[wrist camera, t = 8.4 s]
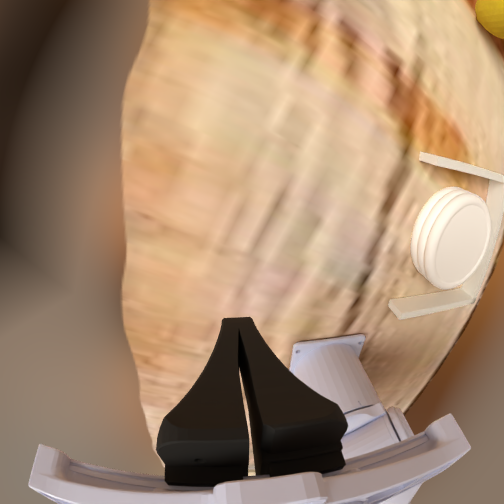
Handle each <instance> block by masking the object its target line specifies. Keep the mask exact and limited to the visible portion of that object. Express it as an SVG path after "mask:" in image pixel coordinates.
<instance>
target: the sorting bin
mask: <svg viewBox="0 0 504 504" xmlns="http://www.w3.org/2000/svg"><path fill="white" fill-rule="evenodd" d="M419 161H423V162H426V163H430V164H433V165H436V166H440V167H445V168H449V169H454V170H458V171H462V172H466V173H470V174H474V175H478V176H481V177H485V178H488V179H490V181H489V187H488V193H487V198H486V204H487V206H488V209H489V212H490V216H491V237H490V242H489V246H488V249H487V251H486V254H485V256H484V258H483V260H482V262H481V264H480V265H479V267H478V268H477V270H476V271H475V272H474V274H473V275H472V276H471V277H470V278H469V279H468V280H467V281H465V282H464V283H463V285H462V287H461V288H458V289H452V290H447V291H441V292H435V293H429V294H423V295H416V296H410V297H403V298H396V299H390V300H389V304H388V306H389V308H390V309H391V310H392V311H393V313H394V314H395V315H396V316H397V318H398V319H399V320H402V319H407V318H412V317H417V316H422V315H427V314H432V313H436V312H440V311H445V310H449V309H453V308H457V307H461V306H465V305H469V304H473V303H474V302H475V300H476V298H477V295H478V293H479V290H480V288H481V285H482V282H483V280H484V277H485V274H486V271H487V269H488V266H489V263H490V260H491V257H492V253H493V250H494V247H495V243H496V240H497V236H498V233H499V229H500V225H501V221H502V216H503V212H504V175H502V174H499V173H496V172H493V171H490V170H487V169H484V168H481V167H478V166H474V165H471V164H468V163H464V162H461V161H457V160H453V159H449V158H445V157H441V156H437V155H433V154H429V153H424V152H420V157H419Z"/></svg>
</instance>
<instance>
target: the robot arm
mask: <svg viewBox="0 0 504 504" xmlns="http://www.w3.org/2000/svg"><path fill="white" fill-rule="evenodd" d="M365 338H366V337H365V335H364V334H358V335H352V336H345V337H338V338H331V339H323V340H315V341H306V342H298V343H295V344H294V346H293V350H292V357H291V363H290V368H289V370H288V369H287V368H286V367H285V366H284V364H283V363H282V362H281V361H280V360H279V359H278V358H277V357H276V355H275V354H274V353H273V352H272V350H271V349H270V348H269V346H268V345H267V344H266V342H265V341H264V339H263V338H262V336H261V335H260V333H259V331H258V330H257V328H256V326H255V324H254V322H253V319H252V318H251V317H240V318H224V319H223V320H222V325H221V330H220V333H219V337H218V339H217V342H216V345H215V347H214V350H213V352H212V354H211V356H210V358H209V361H208V363H207V364H206V366H205V368H204V370H203V372H202V373H201V375H200V376H199V378H198V379H197V381H196V382H195V384H194V385H193V387H192V388H191V389H190V391H189V392H188V393H187V394H186V395H185V397H184V398H183V399H182V400H181V401H180V402H179V403H178V404H177V406H175V407H174V408H173V409H172V410H171V411H170V412H169V413H168V414H167V415H166V416H165V417H164V419H163V421H162V424H161V426H160V429H159V433H158V437H157V447H156V451H157V453H158V455H159V456H160V458H161V459H162V461H163V462H164V463H165V476H158V475H149V474H141V473H134V472H128V471H122V470H116V469H110V468H106V467H101V466H97V465H92V464H88V463H84V462H80V461H77V460H73V459H70V458H69V456H67V454H65V453H64V452H62V451H60V450H57V449H55V448H52V447H49V446H46V445H43V444H39V447H38V450H37V454H36V457H35V461H34V464H33V468H32V472H31V476H30V480H29V487H30V488H32V489H34V490H35V491H37V492H38V493H40V494H42V495H44V496H45V497H47V498H49V499H50V500H52V501H54V502H56V503H58V504H411V503H410V501H411V499H412V498H413V496H414V495H415V494H416V492H417V490H418V489H419V487H420V486H421V484H422V483H423V482H424V481H426V480H428V479H430V478H432V477H434V476H435V475H437V474H439V473H441V472H442V471H444V470H445V469H447V468H448V467H449V466H451V465H452V464H453V463H454V462H456V461H457V460H458V459H459V458H461V457H462V456H463V455H464V454H465V453H467V451H469V450H470V449H471V447H470V445H469V443H468V441H467V439H466V438H465V436H464V434H463V433H462V431H461V429H460V427H459V426H458V424H457V423H456V421H455V419H454V417H453V416H452V414H448V415H446V416H444V417H442V418H440V419H438V420H436V421H434V422H433V423H431V424H430V425H429V426H428V427H427V428H426V430H425V431H424V432H422V433H419V434H417V435H415V436H414V434H413V433H412V431H411V429H410V427H409V425H408V423H407V421H406V419H405V417H404V415H403V413H402V411H401V409H400V408H394V407H393V406H391V407H390V408H388V409H387V411H388V412H387V411H386V409H385V408H384V406H383V405H382V403H381V401H380V399H379V397H378V395H377V393H376V391H375V389H374V387H373V385H372V383H371V381H370V379H369V377H368V376H367V374H366V372H365V370H364V368H363V366H362V364H361V362H360V360H359V355H360V352H361V350H362V347H363V344H364V341H365ZM297 350H298V351H297ZM239 368H240V372H241V377H242V382H243V387H244V391H245V396H246V400H247V405H248V411H249V420H250V428H251V437H252V446H253V454H254V463H255V472H256V476H248V465H249V434H248V426H247V421H246V415H245V410H244V404H243V397H242V390H241V383H240V376H239Z"/></svg>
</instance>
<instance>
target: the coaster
mask: <svg viewBox="0 0 504 504" xmlns="http://www.w3.org/2000/svg"><path fill="white" fill-rule="evenodd" d="M490 237H491V216H490V212H489V209H488V206H487V204H486V203H485V201H484V200H483V199H482V198H481V197H480V196H478V195H476V194H473V193H471V192H469V191H467V190H464V189H462V188H460V187H453V186H452V187H445V188H443V189H441V190H439V191H437V192H436V193H435V194H433V195H432V196H431V197H430V198H429V200H428V201H427V202H426V203H425V205H424V206H423V208H422V209H421V211H420V213H419V215H418V217H417V219H416V222H415V224H414V227H413V231H412V236H411V244H410V251H411V257H412V261H413V263H414V266H415V267H416V269H417V270H418V272H419V273H420V274H422V275H423V276H424V277H425V278H426V279H427V280H429V281H430V283H431V284H432V285H434V286H435V287H437V288H439V289H443V290H448V289H452V288H455V287H457V286H459V285H461V284H463V283H464V282H465V281H467V280H468V279H469V278H470V277H471V276H472V275H473V274H474V272H475V271H476V270H477V268H478V267H479V265H480V264H481V262H482V260H483V258H484V256H485V254H486V251H487V249H488V246H489V242H490Z"/></svg>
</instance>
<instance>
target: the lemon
mask: <svg viewBox="0 0 504 504" xmlns="http://www.w3.org/2000/svg"><path fill="white" fill-rule="evenodd" d="M475 11H476V15H477V17H476V19H477V21H478V22H480V23H481V24H482V26H483V27H484V28H485V29H486V30H487V31H488V32H489V33H491V34H492V35H494V36H496V37H498V38H501V39H504V0H477V2H476V5H475Z"/></svg>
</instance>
